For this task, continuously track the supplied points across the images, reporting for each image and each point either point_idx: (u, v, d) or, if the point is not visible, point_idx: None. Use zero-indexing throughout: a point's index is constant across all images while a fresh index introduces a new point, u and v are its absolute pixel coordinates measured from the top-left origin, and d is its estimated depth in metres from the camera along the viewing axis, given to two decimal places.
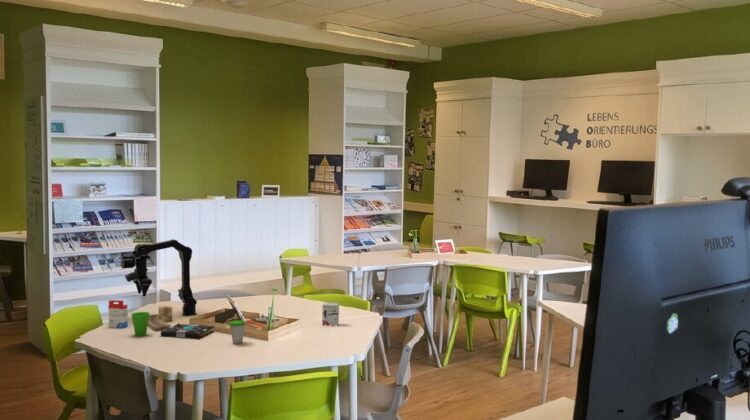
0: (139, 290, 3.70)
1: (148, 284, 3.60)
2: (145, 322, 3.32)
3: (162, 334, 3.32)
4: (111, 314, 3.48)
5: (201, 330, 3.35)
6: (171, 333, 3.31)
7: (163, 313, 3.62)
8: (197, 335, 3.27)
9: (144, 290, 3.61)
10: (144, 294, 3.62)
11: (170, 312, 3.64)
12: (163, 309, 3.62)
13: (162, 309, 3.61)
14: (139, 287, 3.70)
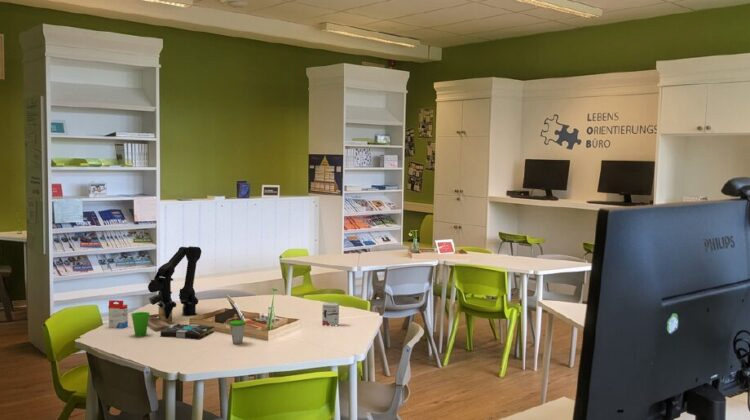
0: None
1: (171, 306, 3.61)
2: (145, 322, 3.32)
3: (162, 334, 3.32)
4: (111, 314, 3.48)
5: (201, 330, 3.35)
6: (171, 333, 3.31)
7: (163, 313, 3.62)
8: (197, 335, 3.27)
9: (167, 312, 3.62)
10: (167, 316, 3.62)
11: None
12: (163, 309, 3.62)
13: (162, 309, 3.61)
14: None
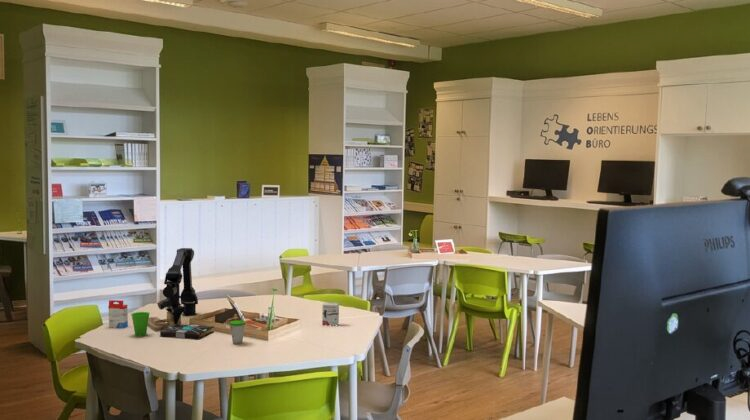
0: None
1: (180, 311, 3.48)
2: (145, 322, 3.32)
3: (161, 334, 3.31)
4: (111, 314, 3.48)
5: (201, 330, 3.34)
6: (170, 333, 3.31)
7: (171, 318, 3.50)
8: (197, 335, 3.27)
9: (176, 317, 3.50)
10: (176, 322, 3.50)
11: None
12: (171, 314, 3.49)
13: (171, 314, 3.49)
14: None
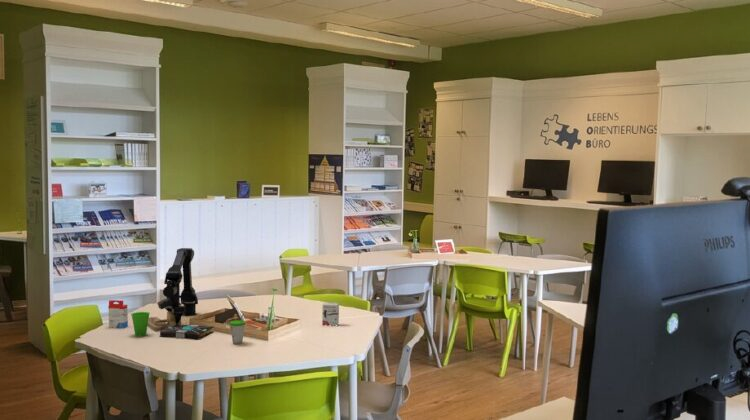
0: None
1: (182, 312, 3.47)
2: (145, 322, 3.32)
3: (161, 334, 3.31)
4: (111, 314, 3.48)
5: (200, 330, 3.34)
6: (170, 333, 3.30)
7: (172, 318, 3.49)
8: (196, 335, 3.27)
9: (177, 318, 3.48)
10: (177, 322, 3.49)
11: None
12: (172, 314, 3.49)
13: (171, 314, 3.49)
14: None
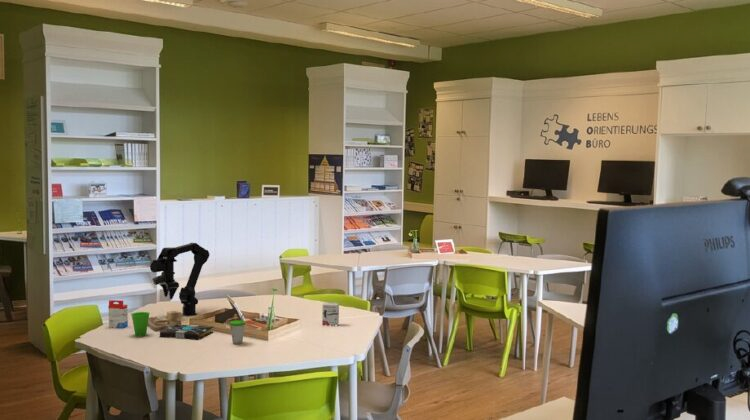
0: (165, 293, 3.73)
1: (175, 287, 3.63)
2: (145, 322, 3.32)
3: (161, 335, 3.31)
4: (111, 314, 3.48)
5: (200, 331, 3.34)
6: (170, 334, 3.30)
7: (172, 318, 3.49)
8: (196, 336, 3.26)
9: (171, 293, 3.64)
10: (171, 297, 3.65)
11: (179, 317, 3.52)
12: (172, 314, 3.49)
13: (171, 314, 3.49)
14: (165, 290, 3.73)
